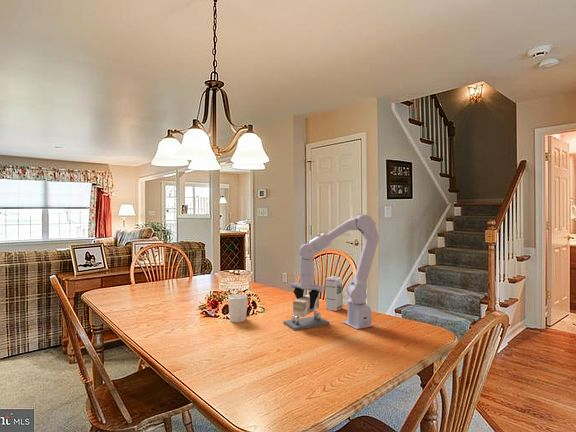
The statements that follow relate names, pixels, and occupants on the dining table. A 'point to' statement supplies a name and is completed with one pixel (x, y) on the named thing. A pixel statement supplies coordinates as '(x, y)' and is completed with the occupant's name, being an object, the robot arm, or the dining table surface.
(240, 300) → the white cup
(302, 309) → the white blocky piece
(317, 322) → the peg stand
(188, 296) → the dining table surface
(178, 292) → the dining table surface
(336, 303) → the syrup box
